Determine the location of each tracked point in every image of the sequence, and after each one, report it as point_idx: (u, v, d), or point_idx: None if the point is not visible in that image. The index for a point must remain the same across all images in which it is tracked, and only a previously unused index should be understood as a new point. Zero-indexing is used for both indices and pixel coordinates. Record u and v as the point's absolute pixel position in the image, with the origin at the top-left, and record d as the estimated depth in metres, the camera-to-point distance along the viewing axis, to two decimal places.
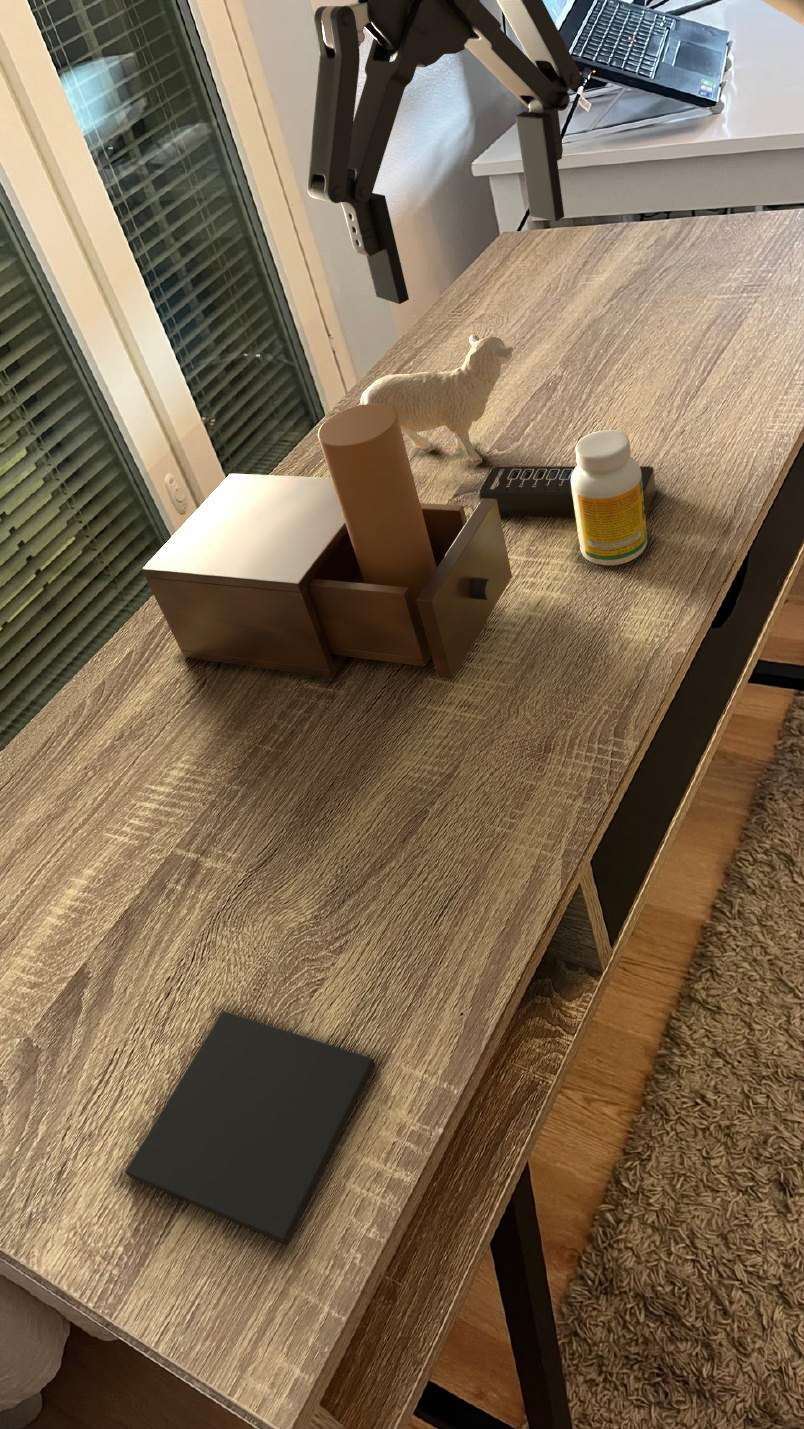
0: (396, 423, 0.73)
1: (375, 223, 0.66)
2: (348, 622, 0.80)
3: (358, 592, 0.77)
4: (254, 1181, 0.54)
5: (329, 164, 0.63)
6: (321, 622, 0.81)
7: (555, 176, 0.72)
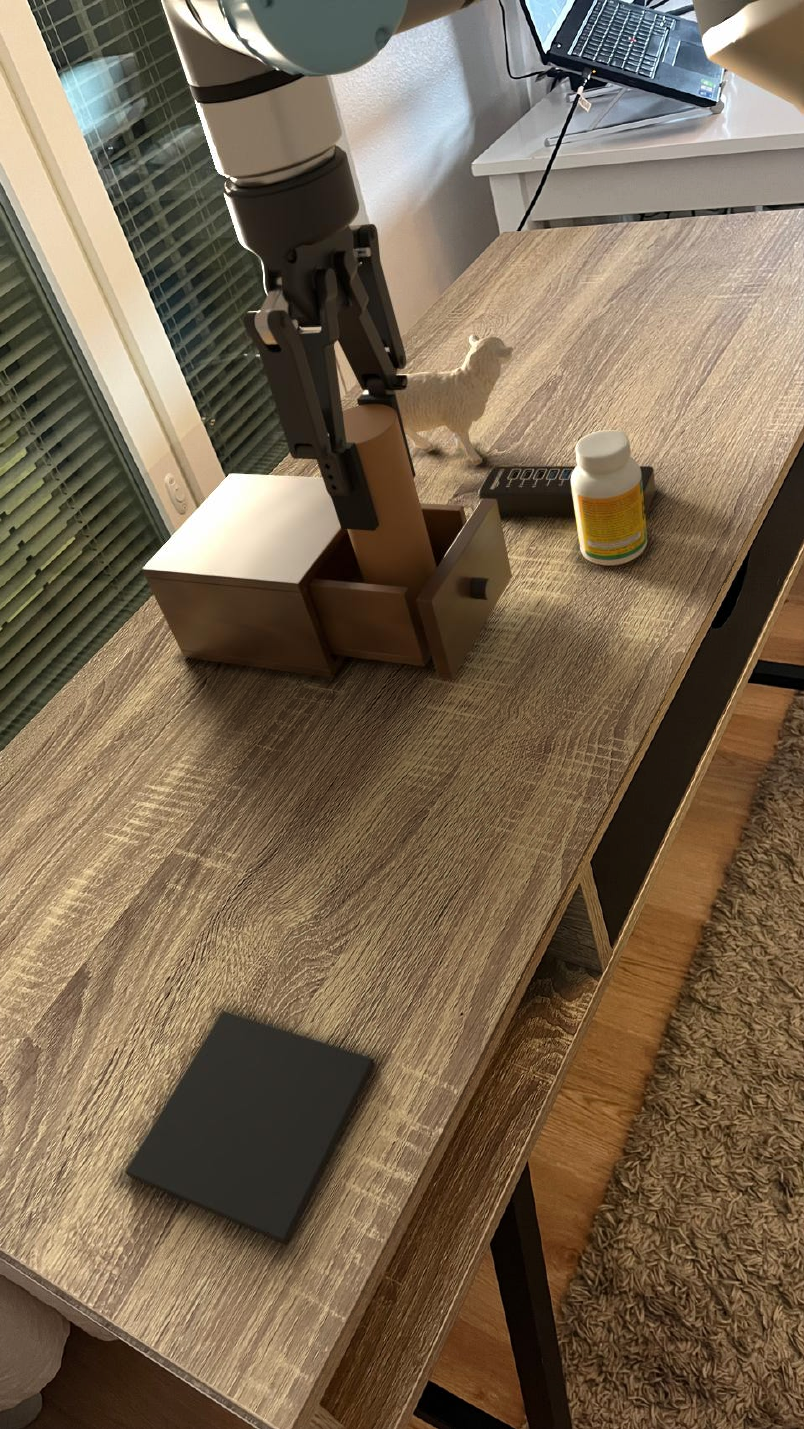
0: (396, 423, 0.73)
1: (348, 467, 0.72)
2: (348, 622, 0.80)
3: (358, 592, 0.77)
4: (254, 1181, 0.54)
5: (313, 434, 0.67)
6: (321, 622, 0.81)
7: (405, 444, 0.77)
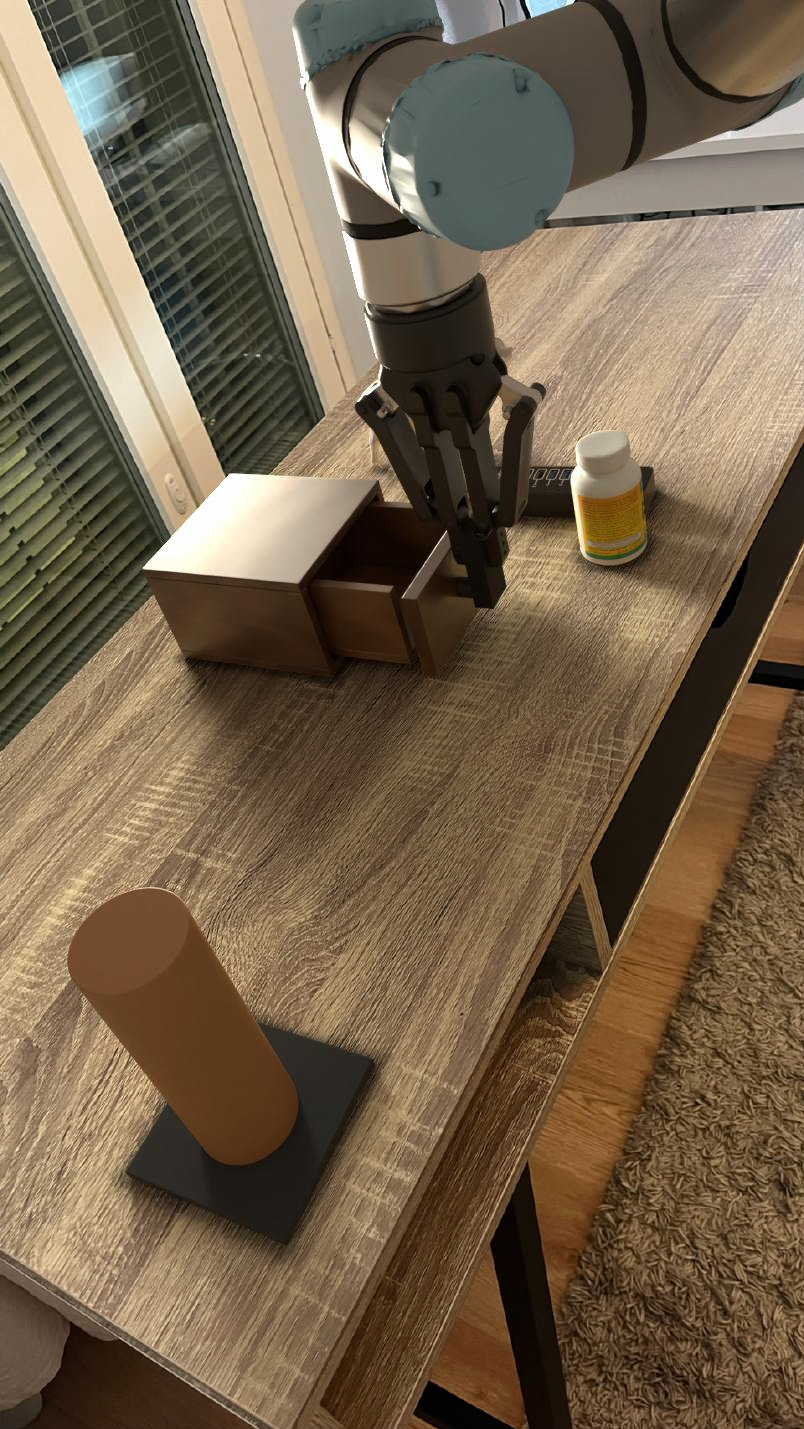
0: (187, 946, 0.46)
1: None
2: (335, 621, 0.80)
3: (345, 591, 0.77)
4: (254, 1181, 0.54)
5: None
6: None
7: (482, 578, 0.77)
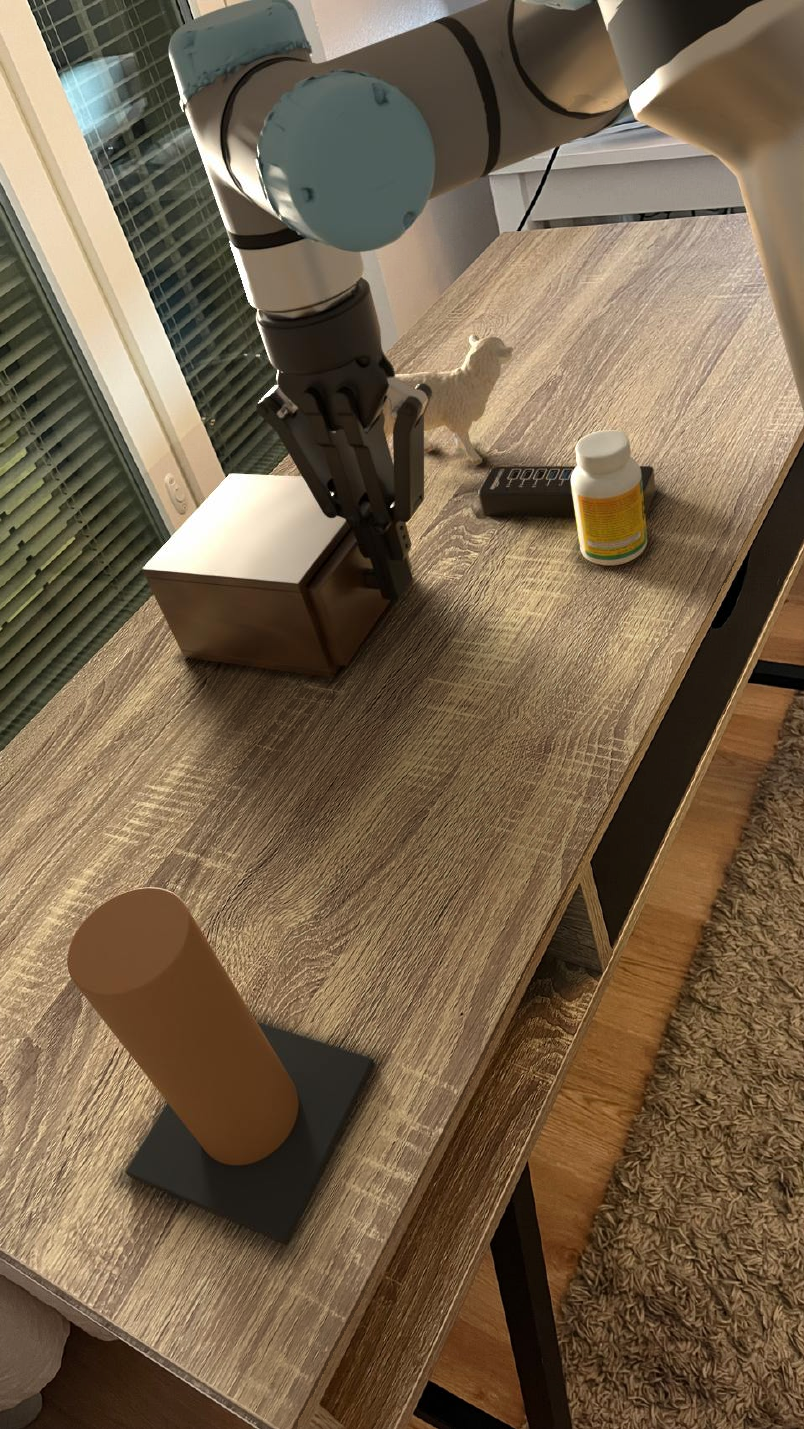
0: (187, 946, 0.46)
1: None
2: None
3: None
4: (254, 1181, 0.54)
5: None
6: None
7: (386, 571, 0.80)
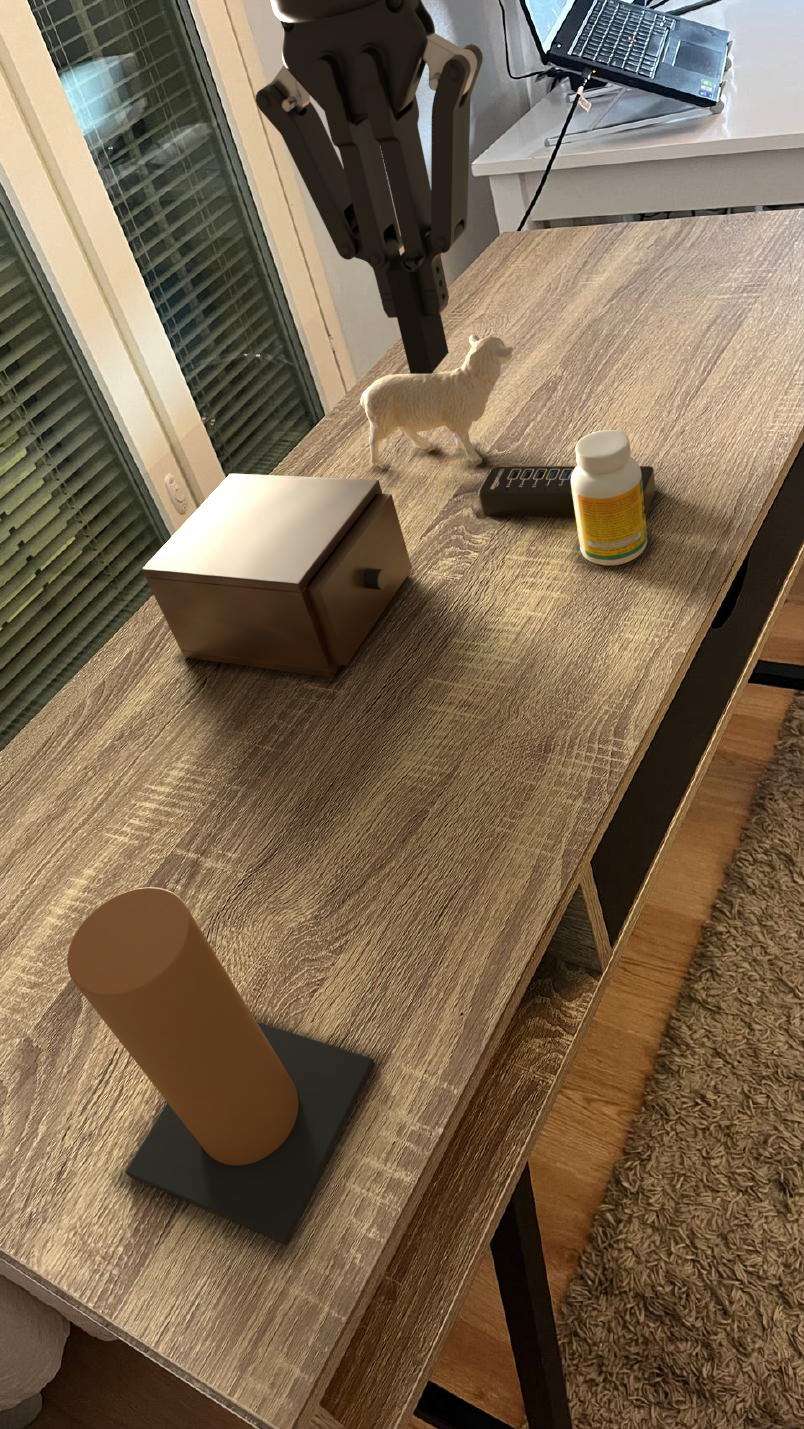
0: (187, 946, 0.46)
1: None
2: None
3: None
4: (254, 1181, 0.54)
5: None
6: None
7: (417, 331, 0.65)
